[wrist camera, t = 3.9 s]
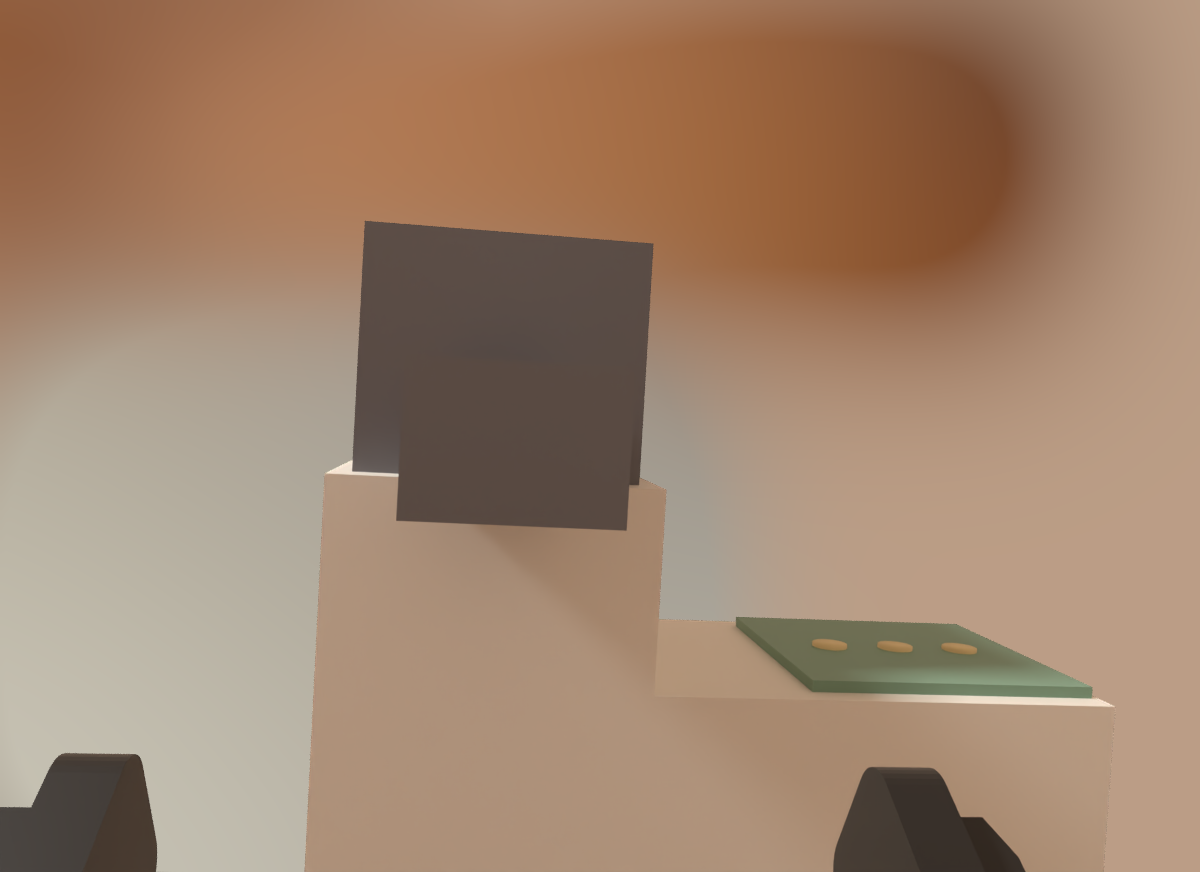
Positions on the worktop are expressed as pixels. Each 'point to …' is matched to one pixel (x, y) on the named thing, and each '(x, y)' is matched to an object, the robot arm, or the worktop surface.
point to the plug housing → (502, 374)
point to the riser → (647, 712)
